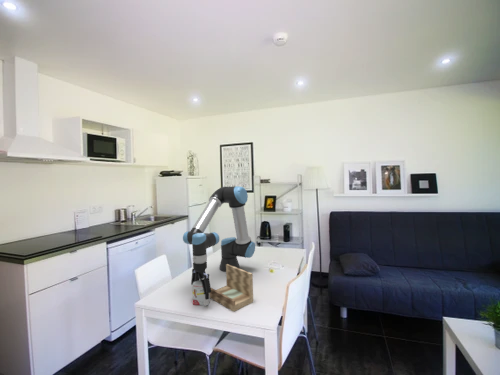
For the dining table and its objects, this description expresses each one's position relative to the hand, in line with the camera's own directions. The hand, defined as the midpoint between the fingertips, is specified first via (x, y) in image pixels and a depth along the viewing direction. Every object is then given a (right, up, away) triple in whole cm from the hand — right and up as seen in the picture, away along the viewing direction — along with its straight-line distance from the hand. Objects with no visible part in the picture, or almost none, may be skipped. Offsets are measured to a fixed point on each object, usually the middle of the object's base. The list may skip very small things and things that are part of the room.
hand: (201, 301), depth 138 cm
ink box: (0, -1, 0) cm, 1 cm away
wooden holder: (+16, 0, +3) cm, 17 cm away
